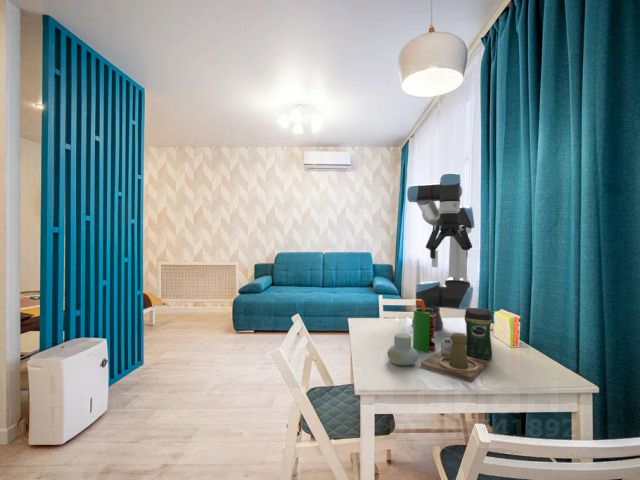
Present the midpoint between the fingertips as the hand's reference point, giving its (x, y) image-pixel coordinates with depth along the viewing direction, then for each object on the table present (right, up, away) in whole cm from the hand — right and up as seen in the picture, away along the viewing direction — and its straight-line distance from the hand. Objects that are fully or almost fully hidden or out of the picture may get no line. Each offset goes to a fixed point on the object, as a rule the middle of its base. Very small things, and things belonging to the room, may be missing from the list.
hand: (449, 266), depth 126 cm
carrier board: (-3, -34, -13) cm, 37 cm away
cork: (-3, -33, -16) cm, 37 cm away
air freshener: (-21, -35, -10) cm, 42 cm away
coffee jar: (+10, -35, -3) cm, 36 cm away
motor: (-8, -34, +5) cm, 36 cm away
